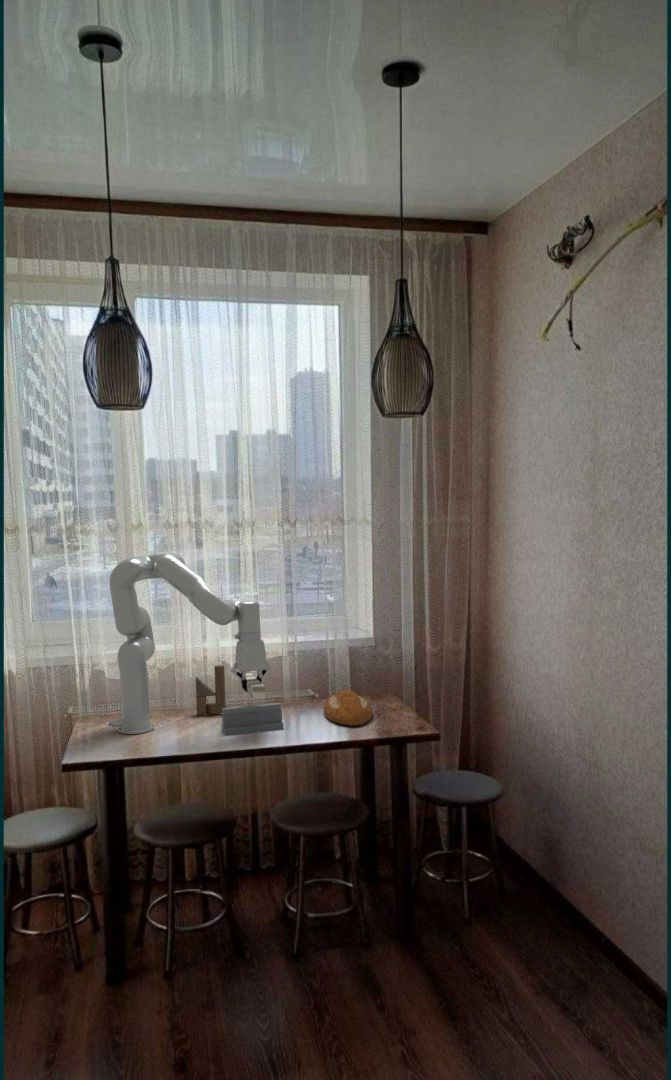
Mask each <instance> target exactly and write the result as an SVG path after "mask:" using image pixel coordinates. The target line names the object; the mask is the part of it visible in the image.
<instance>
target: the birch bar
mask: <svg viewBox="0 0 671 1080" xmlns="http://www.w3.org/2000/svg"><path fill="white" fill-rule="evenodd" d="M245 678H246V680H247V691H246V693H247V694H248V695H249V696H250V698H251V699H253V700H259V699H266V686H265V685H264V684H263V682H262V683H261V682H260V681H259V680H258V679H257V676H255V675H254V674H253V673H251V672H246V677H245ZM239 685H240V687H241V688H242V679H241V678H240V677H239Z"/></svg>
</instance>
